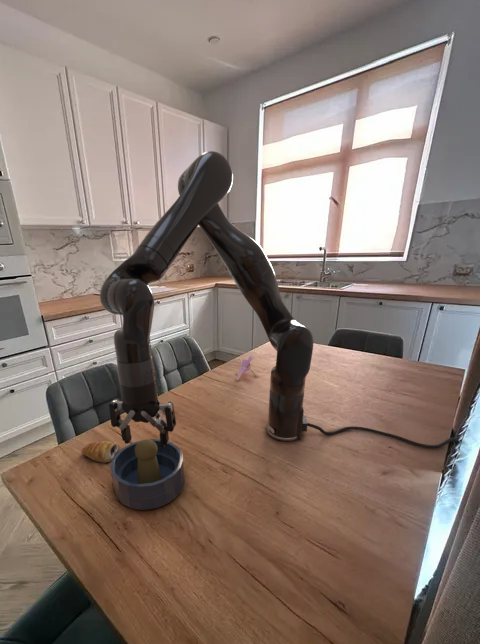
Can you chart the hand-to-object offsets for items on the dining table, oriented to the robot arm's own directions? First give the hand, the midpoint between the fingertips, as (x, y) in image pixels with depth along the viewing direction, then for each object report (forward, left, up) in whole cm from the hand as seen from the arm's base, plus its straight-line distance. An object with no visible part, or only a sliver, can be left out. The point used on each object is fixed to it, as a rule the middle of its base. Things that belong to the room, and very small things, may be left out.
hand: (146, 443), depth 70 cm
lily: (-24, -68, -11) cm, 73 cm away
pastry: (+17, -8, -12) cm, 23 cm away
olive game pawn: (0, 0, -12) cm, 12 cm away
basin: (0, 0, -12) cm, 12 cm away
